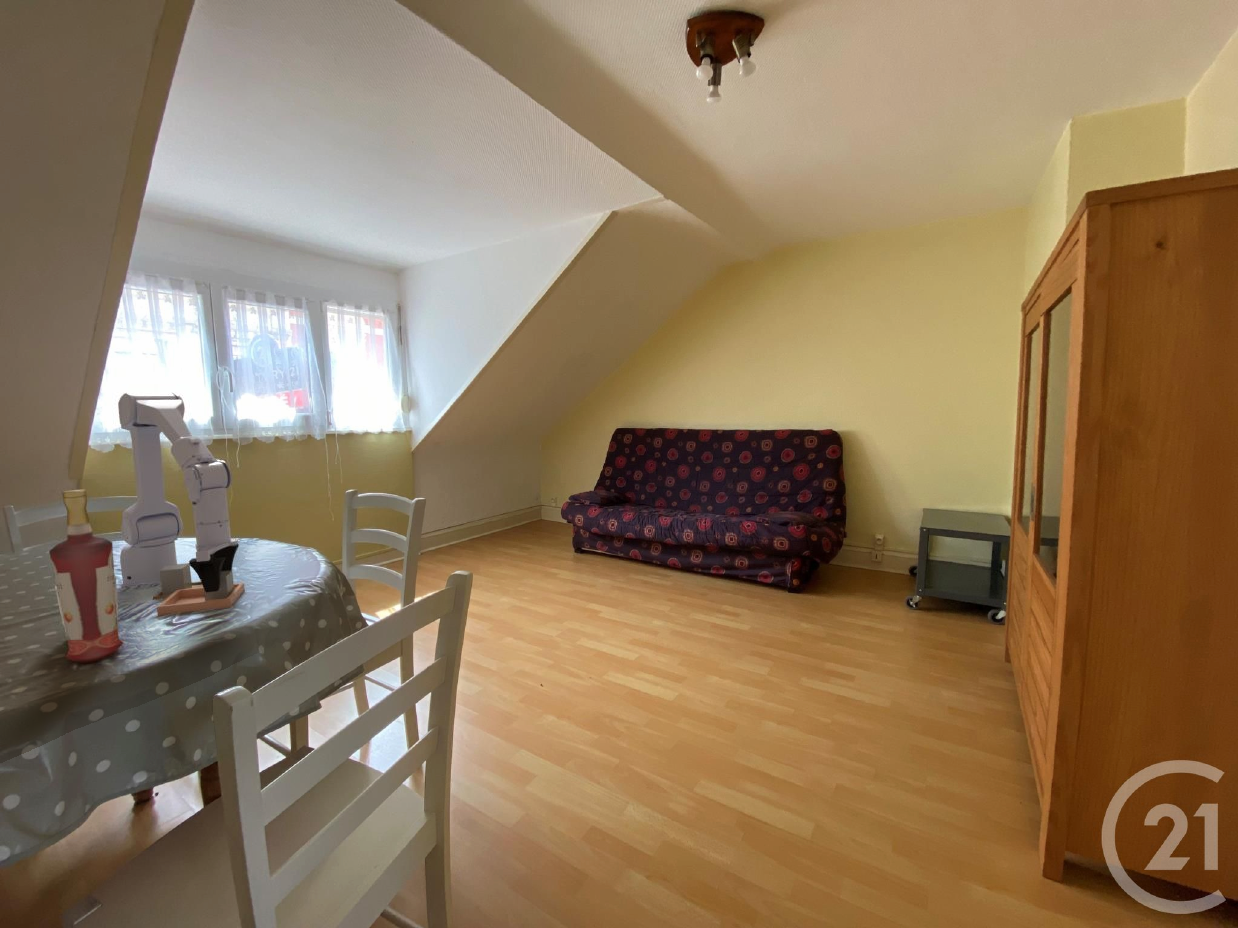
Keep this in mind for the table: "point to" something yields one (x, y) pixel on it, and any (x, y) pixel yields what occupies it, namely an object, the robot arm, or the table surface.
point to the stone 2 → (222, 587)
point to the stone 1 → (175, 578)
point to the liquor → (86, 585)
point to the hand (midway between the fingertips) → (218, 585)
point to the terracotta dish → (196, 601)
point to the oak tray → (160, 596)
